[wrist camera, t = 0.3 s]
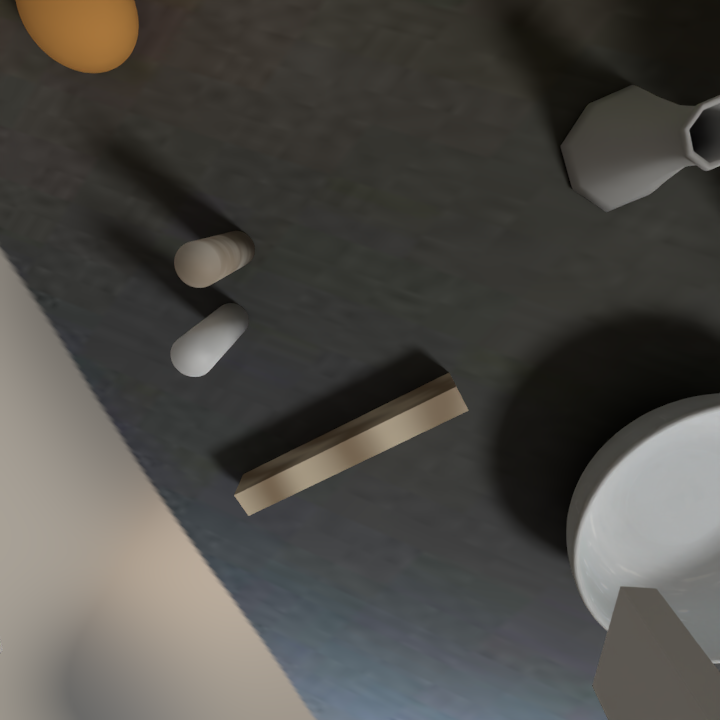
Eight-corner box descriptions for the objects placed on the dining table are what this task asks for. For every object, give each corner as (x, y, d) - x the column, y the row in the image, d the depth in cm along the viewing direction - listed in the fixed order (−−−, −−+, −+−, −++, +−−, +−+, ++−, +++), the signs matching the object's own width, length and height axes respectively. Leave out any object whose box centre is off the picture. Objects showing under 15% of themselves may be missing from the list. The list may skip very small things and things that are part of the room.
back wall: (256, 493, 41) (248, 515, 38) (243, 474, 40) (234, 495, 38) (460, 394, 38) (468, 410, 36) (449, 372, 38) (456, 386, 35)
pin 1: (219, 230, 35) (172, 240, 26) (254, 231, 35) (219, 242, 26) (221, 265, 36) (176, 287, 27) (255, 266, 36) (221, 288, 27)
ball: (48, -32, 30) (-24, -85, 25) (150, -28, 30) (101, -81, 25) (63, 81, 32) (-2, 56, 26) (159, 84, 32) (115, 60, 26)
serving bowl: (742, 311, 37) (825, 336, 30) (846, 516, 42) (936, 576, 35) (492, 463, 40) (518, 514, 34) (615, 634, 45) (658, 708, 39)
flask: (539, 145, 33) (610, 123, 24) (634, 62, 32) (752, 3, 22) (600, 231, 35) (690, 243, 25) (694, 156, 33) (827, 139, 24)
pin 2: (214, 302, 36) (168, 334, 28) (248, 303, 36) (213, 335, 28) (216, 335, 37) (172, 376, 28) (249, 336, 37) (215, 377, 28)
